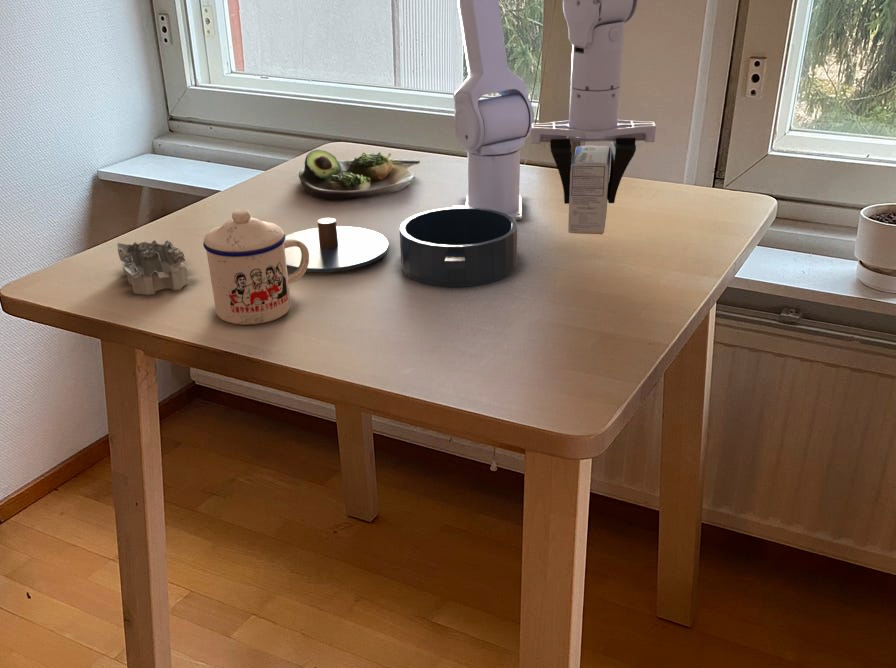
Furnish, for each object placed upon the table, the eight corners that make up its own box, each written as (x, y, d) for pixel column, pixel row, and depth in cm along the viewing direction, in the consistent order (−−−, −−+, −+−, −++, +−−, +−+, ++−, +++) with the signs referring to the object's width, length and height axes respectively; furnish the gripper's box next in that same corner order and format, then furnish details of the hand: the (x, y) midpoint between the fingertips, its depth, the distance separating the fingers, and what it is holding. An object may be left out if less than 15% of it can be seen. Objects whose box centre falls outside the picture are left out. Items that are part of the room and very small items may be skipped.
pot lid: (259, 277, 125) (254, 242, 123) (282, 234, 138) (279, 202, 135) (382, 276, 124) (380, 241, 121) (394, 233, 137) (392, 200, 134)
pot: (394, 296, 118) (392, 255, 116) (408, 237, 135) (407, 201, 132) (517, 295, 117) (517, 254, 114) (516, 236, 134) (517, 199, 131)
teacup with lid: (231, 333, 111) (215, 231, 105) (203, 306, 118) (187, 208, 112) (328, 308, 116) (319, 209, 110) (296, 283, 123) (286, 189, 117)
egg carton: (192, 289, 123) (187, 257, 121) (130, 299, 121) (123, 267, 119) (179, 259, 131) (173, 229, 129) (120, 269, 129) (114, 238, 127)
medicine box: (603, 235, 122) (609, 164, 118) (567, 234, 123) (570, 163, 118) (606, 214, 129) (611, 145, 124) (571, 212, 130) (575, 144, 125)
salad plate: (403, 159, 166) (402, 130, 164) (442, 189, 152) (441, 158, 150) (289, 175, 161) (286, 146, 159) (318, 207, 147) (315, 176, 144)
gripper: (533, 95, 114) (530, 212, 122) (662, 92, 113) (651, 210, 120) (532, 81, 120) (529, 193, 128) (655, 78, 119) (645, 192, 126)
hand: (588, 201), depth 124 cm, fingers closed on medicine box, 5 cm apart
